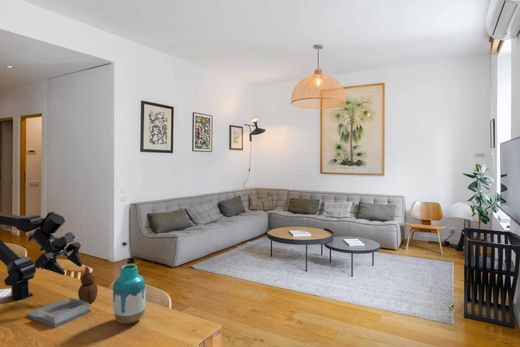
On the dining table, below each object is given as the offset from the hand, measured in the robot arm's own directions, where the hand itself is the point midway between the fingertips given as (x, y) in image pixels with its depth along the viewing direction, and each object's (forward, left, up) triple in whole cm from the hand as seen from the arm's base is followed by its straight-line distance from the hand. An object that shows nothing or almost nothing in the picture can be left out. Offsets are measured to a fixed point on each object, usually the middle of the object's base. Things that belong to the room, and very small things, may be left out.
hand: (73, 270), depth 130 cm
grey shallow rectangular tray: (+5, -9, -12) cm, 16 cm away
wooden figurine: (+6, +2, -13) cm, 14 cm away
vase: (+32, 0, -13) cm, 34 cm away
